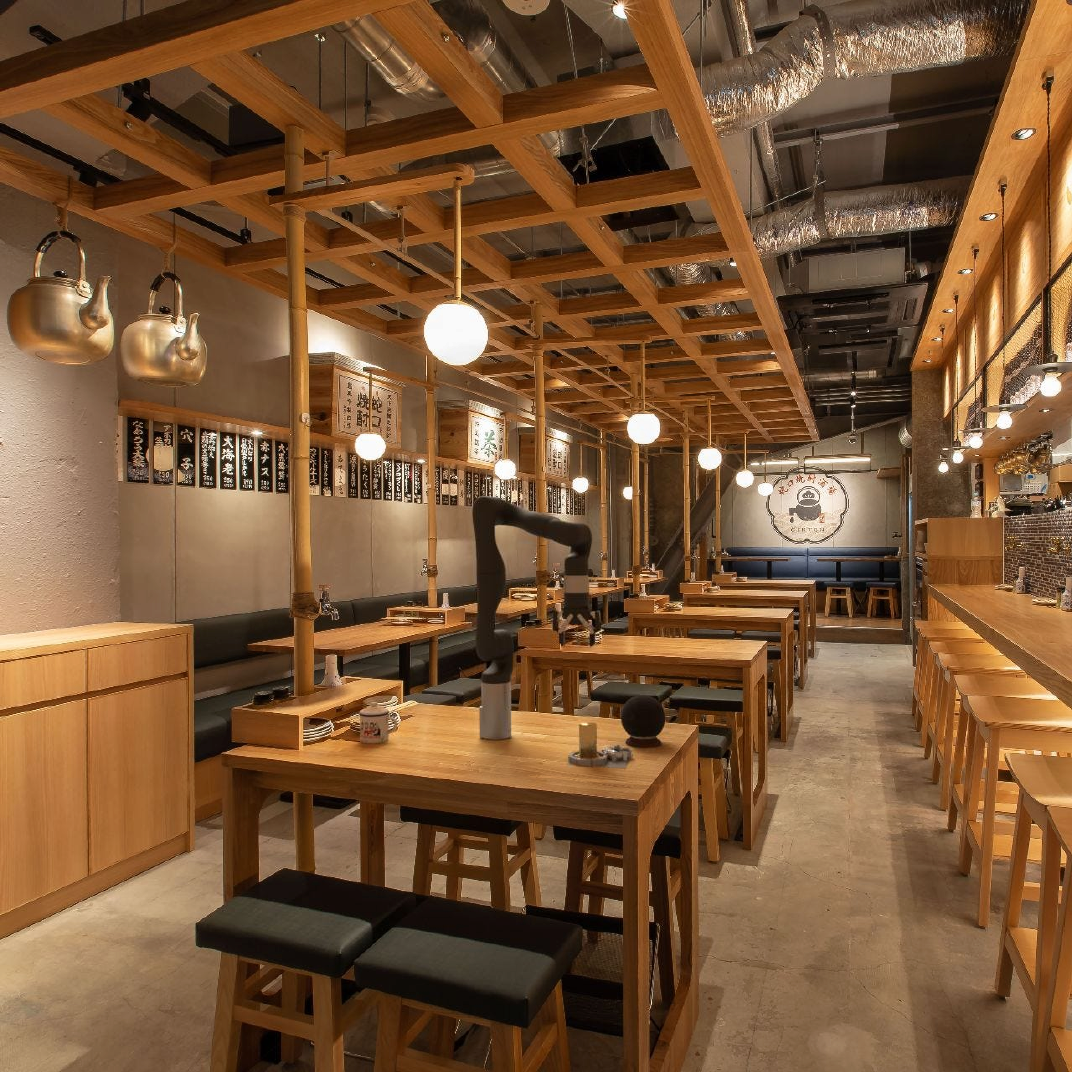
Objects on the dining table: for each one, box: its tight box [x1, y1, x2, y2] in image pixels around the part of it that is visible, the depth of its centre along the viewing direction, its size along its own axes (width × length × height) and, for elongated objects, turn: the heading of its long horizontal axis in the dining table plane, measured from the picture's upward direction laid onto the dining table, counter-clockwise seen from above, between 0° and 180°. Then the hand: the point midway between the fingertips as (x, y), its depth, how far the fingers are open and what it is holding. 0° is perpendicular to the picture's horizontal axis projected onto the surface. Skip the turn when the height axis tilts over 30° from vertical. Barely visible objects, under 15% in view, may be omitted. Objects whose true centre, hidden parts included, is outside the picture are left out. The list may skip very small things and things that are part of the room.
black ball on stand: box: [620, 694, 667, 749], centre depth 227 cm, size 13×13×15 cm
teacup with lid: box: [358, 701, 398, 744], centre depth 237 cm, size 12×9×12 cm
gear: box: [601, 744, 633, 761], centre depth 212 cm, size 8×8×3 cm
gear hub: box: [574, 721, 602, 760], centre depth 209 cm, size 8×7×10 cm
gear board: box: [565, 750, 634, 770], centre depth 210 cm, size 16×14×2 cm
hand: (577, 646), depth 225 cm, fingers open, 8 cm apart
